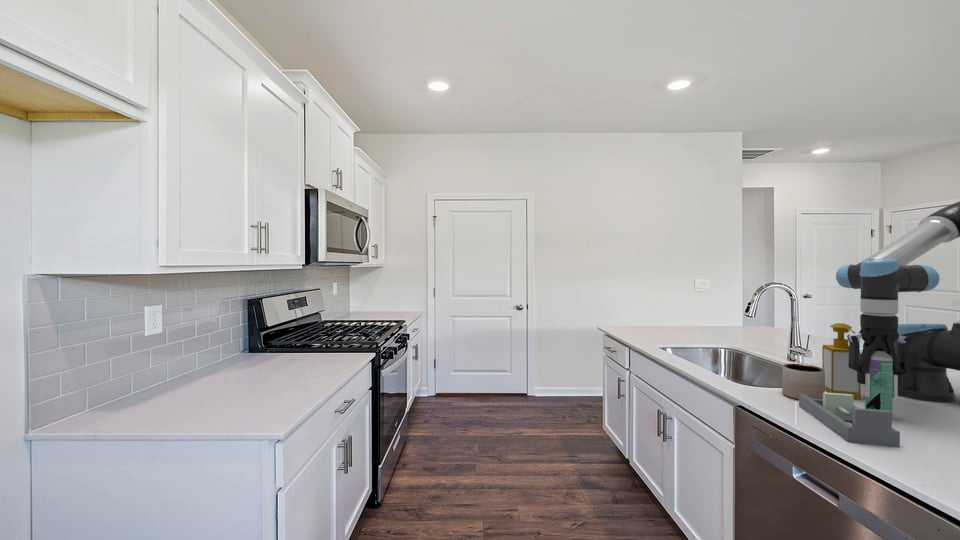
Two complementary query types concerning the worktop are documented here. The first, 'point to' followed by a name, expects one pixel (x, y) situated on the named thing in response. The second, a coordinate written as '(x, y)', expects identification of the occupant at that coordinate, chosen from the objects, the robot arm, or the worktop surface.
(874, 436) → the lane
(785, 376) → the planter
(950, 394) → the robot arm
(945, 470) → the worktop surface
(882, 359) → the spray can
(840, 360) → the soap bottle
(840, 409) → the pusher
